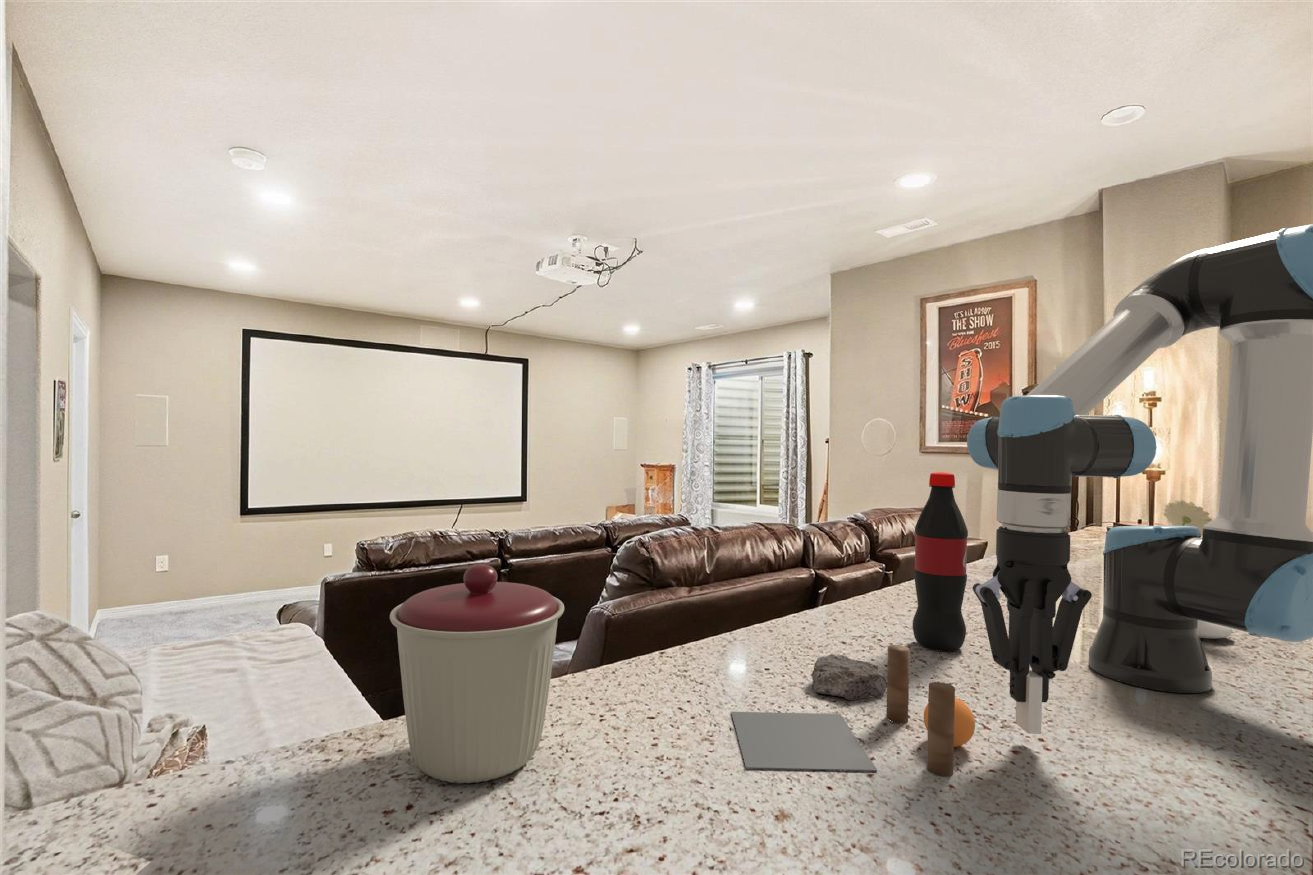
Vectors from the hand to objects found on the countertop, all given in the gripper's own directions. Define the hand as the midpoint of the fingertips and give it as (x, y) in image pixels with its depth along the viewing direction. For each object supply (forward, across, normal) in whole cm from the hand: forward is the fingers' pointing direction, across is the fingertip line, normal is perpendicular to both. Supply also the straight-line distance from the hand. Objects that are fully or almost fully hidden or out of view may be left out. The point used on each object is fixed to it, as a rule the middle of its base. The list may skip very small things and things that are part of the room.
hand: (1028, 728), depth 77 cm
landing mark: (+2, -27, 0) cm, 27 cm away
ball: (-1, -9, 0) cm, 9 cm away
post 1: (+2, -13, +6) cm, 15 cm away
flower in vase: (+2, +57, +47) cm, 74 cm away
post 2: (+2, -13, -6) cm, 15 cm away
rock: (+3, -16, +16) cm, 23 cm away
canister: (+2, -63, -6) cm, 63 cm away
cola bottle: (+2, +5, +36) cm, 36 cm away
